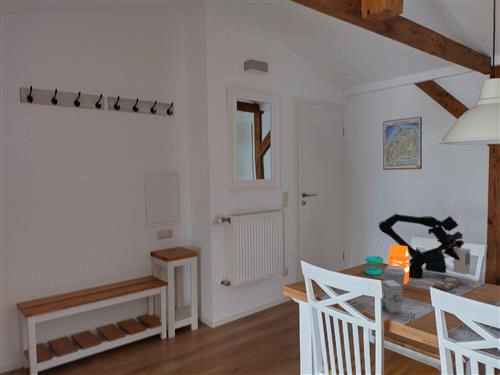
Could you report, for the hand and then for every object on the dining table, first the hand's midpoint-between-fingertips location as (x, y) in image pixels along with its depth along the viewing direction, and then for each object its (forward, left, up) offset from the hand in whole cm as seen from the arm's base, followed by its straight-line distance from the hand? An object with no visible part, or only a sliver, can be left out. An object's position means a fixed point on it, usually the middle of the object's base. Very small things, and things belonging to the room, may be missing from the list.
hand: (461, 259), depth 199 cm
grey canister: (-27, -44, -13) cm, 53 cm away
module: (0, 0, -7) cm, 7 cm away
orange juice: (-30, -12, -14) cm, 35 cm away
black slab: (-15, +22, -14) cm, 30 cm away
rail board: (-7, -11, -13) cm, 19 cm away
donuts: (-45, -3, -14) cm, 47 cm away
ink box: (-26, -58, -14) cm, 64 cm away
